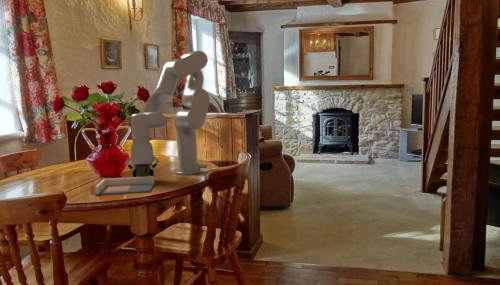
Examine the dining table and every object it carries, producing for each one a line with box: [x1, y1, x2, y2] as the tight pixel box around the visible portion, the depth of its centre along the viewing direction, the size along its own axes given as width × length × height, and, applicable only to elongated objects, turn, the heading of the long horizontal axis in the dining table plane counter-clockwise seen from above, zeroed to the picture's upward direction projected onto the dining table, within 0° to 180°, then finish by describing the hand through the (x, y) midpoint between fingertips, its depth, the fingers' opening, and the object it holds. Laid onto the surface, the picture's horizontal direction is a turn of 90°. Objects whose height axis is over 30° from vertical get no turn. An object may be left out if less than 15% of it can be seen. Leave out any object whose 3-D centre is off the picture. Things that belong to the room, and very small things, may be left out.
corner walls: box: [94, 175, 156, 195], centre depth 185 cm, size 22×15×3 cm
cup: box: [135, 165, 150, 177], centre depth 201 cm, size 8×7×8 cm
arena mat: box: [95, 183, 156, 196], centre depth 186 cm, size 22×15×1 cm
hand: (143, 177), depth 202 cm, fingers closed on cup, 6 cm apart
